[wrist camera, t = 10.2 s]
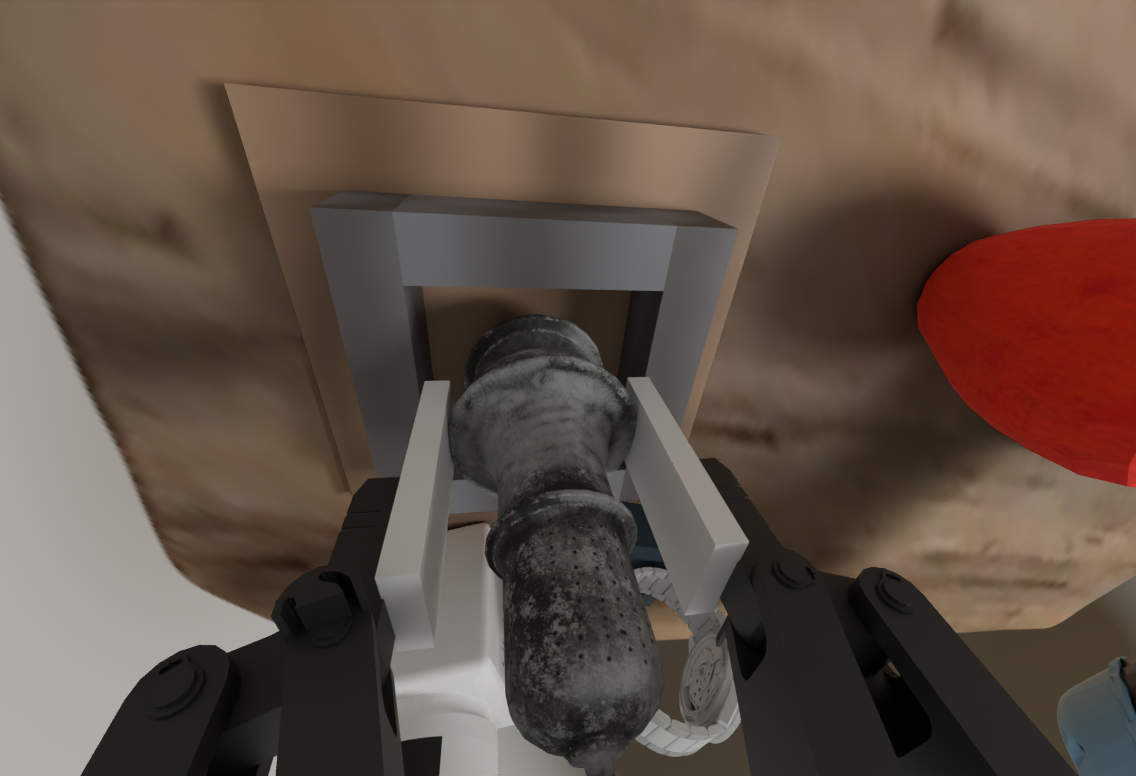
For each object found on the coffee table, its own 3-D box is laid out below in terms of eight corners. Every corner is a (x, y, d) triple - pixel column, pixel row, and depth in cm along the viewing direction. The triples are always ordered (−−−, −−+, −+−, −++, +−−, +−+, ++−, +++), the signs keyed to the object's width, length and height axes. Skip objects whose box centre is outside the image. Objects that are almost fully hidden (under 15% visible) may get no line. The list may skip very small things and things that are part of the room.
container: (404, 613, 28) (351, 923, 17) (356, 547, 23) (242, 909, 13) (515, 587, 28) (531, 875, 17) (488, 518, 24) (486, 845, 13)
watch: (658, 564, 29) (733, 763, 20) (557, 552, 27) (591, 776, 18) (700, 514, 27) (807, 716, 18) (592, 495, 24) (654, 721, 15)
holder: (766, 135, 15) (845, 140, 11) (668, 472, 24) (696, 528, 21) (242, 85, 12) (146, 72, 8) (360, 491, 21) (336, 560, 18)
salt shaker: (568, 275, 13) (783, 707, 4) (632, 397, 17) (834, 800, 7) (421, 356, 14) (260, 895, 4) (509, 458, 17) (531, 898, 8)
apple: (858, 386, 23) (1097, 561, 14) (881, 232, 18) (1282, 347, 9) (1014, 333, 22) (1365, 476, 13) (1083, 160, 17) (1718, 204, 8)
